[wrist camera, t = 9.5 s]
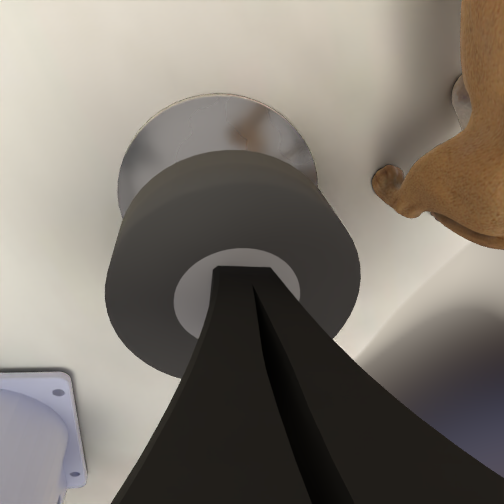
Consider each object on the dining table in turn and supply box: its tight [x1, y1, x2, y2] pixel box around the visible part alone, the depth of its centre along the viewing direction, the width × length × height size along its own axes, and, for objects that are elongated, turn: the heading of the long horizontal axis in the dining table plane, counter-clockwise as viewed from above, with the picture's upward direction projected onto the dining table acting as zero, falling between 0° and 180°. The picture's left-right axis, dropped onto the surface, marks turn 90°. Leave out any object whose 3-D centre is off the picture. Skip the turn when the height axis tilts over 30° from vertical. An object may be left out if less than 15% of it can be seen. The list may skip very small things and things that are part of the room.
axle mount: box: [118, 94, 318, 218], centre depth 13 cm, size 7×7×2 cm
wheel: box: [105, 150, 361, 379], centre depth 10 cm, size 6×6×2 cm
